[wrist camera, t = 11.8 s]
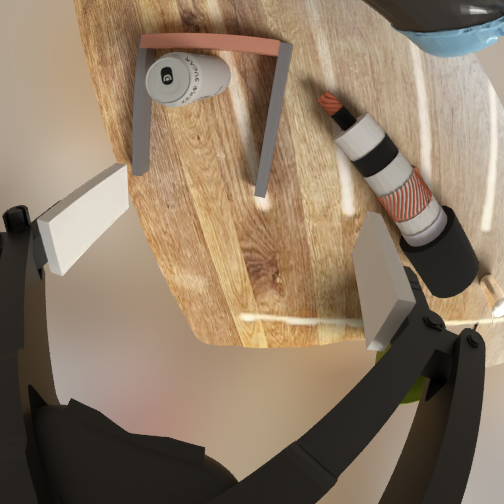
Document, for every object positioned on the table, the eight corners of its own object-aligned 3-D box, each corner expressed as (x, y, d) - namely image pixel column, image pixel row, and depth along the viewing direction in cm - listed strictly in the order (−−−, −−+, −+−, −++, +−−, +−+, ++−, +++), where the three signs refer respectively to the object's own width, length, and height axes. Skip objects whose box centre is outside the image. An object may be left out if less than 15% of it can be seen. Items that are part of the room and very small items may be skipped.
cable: (333, 87, 39) (362, 62, 29) (450, 246, 46) (489, 257, 36) (287, 126, 39) (307, 107, 29) (417, 287, 46) (454, 306, 36)
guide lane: (148, 37, 34) (132, 35, 29) (293, 46, 33) (291, 42, 28) (141, 168, 46) (126, 179, 42) (266, 189, 45) (262, 203, 41)
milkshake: (471, 284, 48) (489, 319, 40) (490, 267, 45) (510, 301, 37) (478, 294, 49) (495, 328, 41) (496, 279, 46) (516, 312, 38)
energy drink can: (194, 98, 39) (145, 115, 26) (188, 60, 35) (135, 60, 23) (235, 92, 37) (201, 103, 25) (229, 53, 34) (192, 44, 22)
